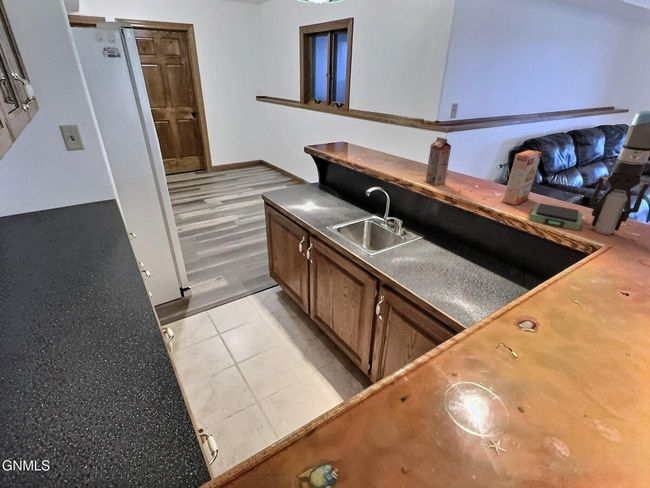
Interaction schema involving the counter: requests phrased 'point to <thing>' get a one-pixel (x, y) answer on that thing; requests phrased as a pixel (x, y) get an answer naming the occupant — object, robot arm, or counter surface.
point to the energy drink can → (611, 212)
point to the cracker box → (521, 176)
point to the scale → (556, 220)
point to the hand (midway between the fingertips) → (604, 226)
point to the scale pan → (557, 212)
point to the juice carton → (438, 162)
